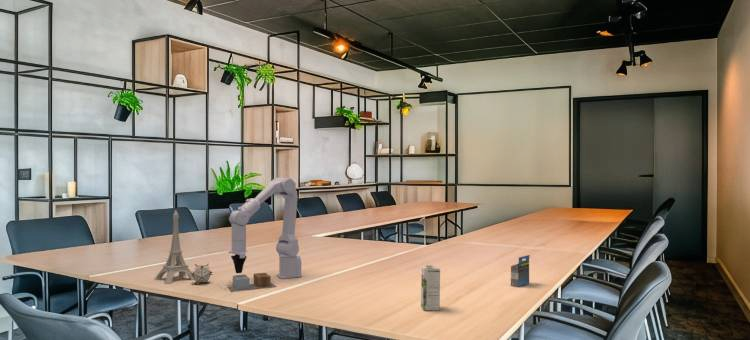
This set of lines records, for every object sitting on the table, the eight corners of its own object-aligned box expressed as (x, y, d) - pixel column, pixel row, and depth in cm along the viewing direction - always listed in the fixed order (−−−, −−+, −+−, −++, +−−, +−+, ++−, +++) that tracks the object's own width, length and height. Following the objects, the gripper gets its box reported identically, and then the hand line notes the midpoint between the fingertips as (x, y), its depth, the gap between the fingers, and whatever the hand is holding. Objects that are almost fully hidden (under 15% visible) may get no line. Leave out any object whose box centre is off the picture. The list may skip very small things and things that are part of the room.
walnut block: (265, 272, 213) (270, 276, 206) (265, 282, 213) (270, 286, 206) (253, 273, 211) (258, 277, 204) (253, 283, 211) (258, 287, 204)
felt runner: (270, 282, 213) (270, 282, 213) (276, 286, 206) (276, 286, 206) (227, 287, 205) (227, 286, 205) (231, 291, 198) (231, 290, 198)
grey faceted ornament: (203, 293, 211) (203, 276, 205) (186, 284, 212) (186, 268, 206) (216, 278, 218) (217, 262, 212) (200, 270, 219) (199, 254, 214)
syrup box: (420, 306, 178) (420, 265, 178) (437, 306, 179) (437, 264, 179) (423, 311, 173) (423, 268, 173) (440, 310, 173) (440, 268, 173)
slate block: (245, 274, 209) (249, 278, 202) (245, 284, 209) (249, 288, 202) (232, 275, 207) (236, 279, 200) (232, 285, 207) (236, 289, 200)
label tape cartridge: (521, 282, 216) (521, 253, 216) (529, 284, 213) (529, 254, 213) (510, 286, 210) (510, 256, 210) (518, 287, 207) (519, 257, 207)
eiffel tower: (184, 274, 229) (184, 208, 229) (197, 279, 220) (197, 210, 219) (153, 279, 220) (154, 210, 220) (166, 284, 210) (166, 212, 210)
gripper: (225, 238, 213) (225, 270, 213) (232, 242, 200) (232, 277, 201) (242, 237, 217) (242, 269, 217) (250, 241, 204) (250, 275, 204)
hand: (238, 272), depth 209 cm, fingers closed
